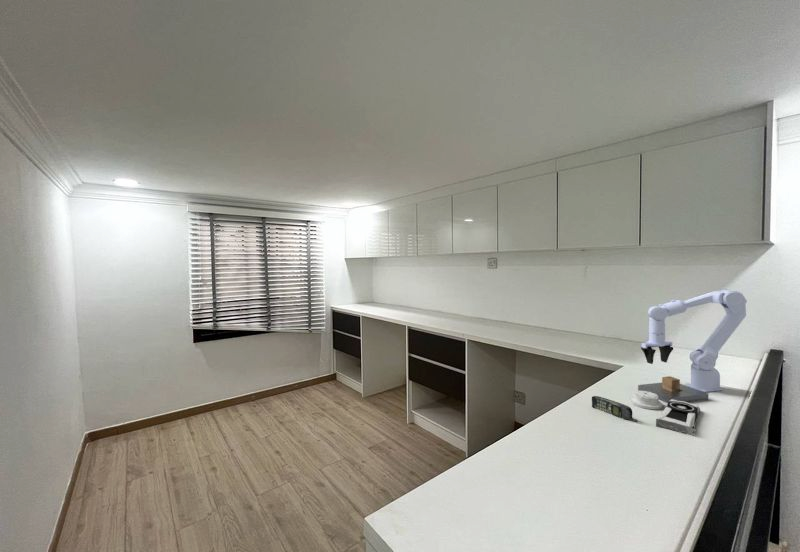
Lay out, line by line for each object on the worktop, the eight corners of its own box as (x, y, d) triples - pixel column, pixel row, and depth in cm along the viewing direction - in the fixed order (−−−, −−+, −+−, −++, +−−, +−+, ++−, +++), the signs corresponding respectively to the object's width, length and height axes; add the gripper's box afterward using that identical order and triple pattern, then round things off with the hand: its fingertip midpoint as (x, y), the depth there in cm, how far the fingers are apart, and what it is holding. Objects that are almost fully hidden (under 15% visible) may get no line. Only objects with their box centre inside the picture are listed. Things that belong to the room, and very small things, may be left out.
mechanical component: (638, 409, 123) (668, 411, 121) (638, 398, 123) (668, 399, 121) (625, 399, 133) (653, 400, 131) (625, 388, 132) (653, 389, 131)
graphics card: (655, 418, 110) (669, 396, 126) (655, 428, 110) (669, 405, 127) (695, 429, 102) (704, 404, 119) (695, 439, 102) (704, 413, 119)
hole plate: (673, 386, 143) (673, 381, 143) (708, 399, 129) (708, 393, 129) (638, 390, 140) (638, 385, 140) (670, 404, 126) (670, 398, 126)
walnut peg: (670, 392, 137) (670, 376, 137) (679, 396, 133) (679, 379, 133) (662, 393, 136) (662, 377, 136) (671, 397, 132) (671, 380, 132)
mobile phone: (590, 395, 125) (633, 409, 112) (594, 394, 127) (638, 407, 114) (590, 408, 125) (634, 423, 112) (595, 406, 127) (638, 421, 114)
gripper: (661, 330, 152) (661, 358, 153) (635, 332, 150) (635, 361, 150) (677, 333, 145) (677, 363, 146) (649, 335, 143) (649, 365, 143)
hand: (656, 362), depth 147 cm, fingers open, 7 cm apart
